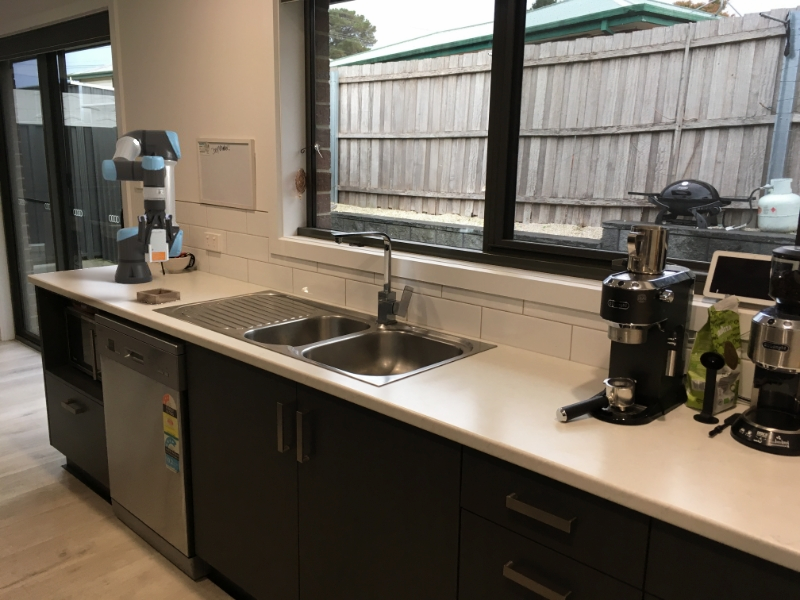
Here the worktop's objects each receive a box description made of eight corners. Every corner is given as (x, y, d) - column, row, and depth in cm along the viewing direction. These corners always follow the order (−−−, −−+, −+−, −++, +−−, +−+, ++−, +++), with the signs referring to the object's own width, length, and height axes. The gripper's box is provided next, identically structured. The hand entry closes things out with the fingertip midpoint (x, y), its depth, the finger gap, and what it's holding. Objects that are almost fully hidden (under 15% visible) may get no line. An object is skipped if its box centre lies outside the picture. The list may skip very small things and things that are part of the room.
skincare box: (150, 262, 236) (149, 230, 234) (146, 261, 239) (145, 229, 237) (167, 261, 240) (166, 229, 238) (163, 260, 243) (161, 228, 241)
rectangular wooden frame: (137, 300, 241) (136, 292, 241) (161, 296, 250) (161, 287, 250) (155, 304, 236) (155, 296, 235) (180, 300, 245) (180, 291, 244)
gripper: (137, 200, 225) (140, 264, 229) (183, 198, 241) (185, 259, 246) (124, 199, 229) (127, 262, 233) (170, 197, 245) (172, 257, 250)
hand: (157, 260), depth 240 cm, fingers closed on skincare box, 7 cm apart
